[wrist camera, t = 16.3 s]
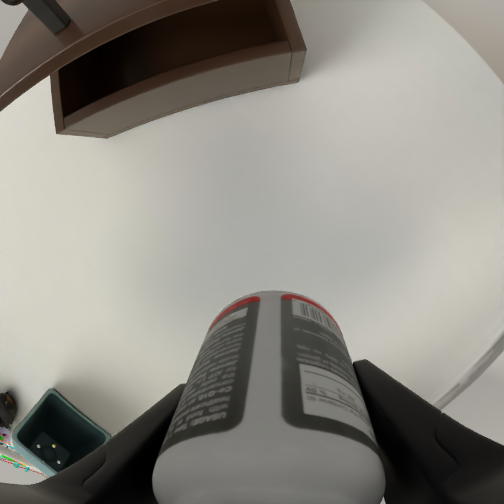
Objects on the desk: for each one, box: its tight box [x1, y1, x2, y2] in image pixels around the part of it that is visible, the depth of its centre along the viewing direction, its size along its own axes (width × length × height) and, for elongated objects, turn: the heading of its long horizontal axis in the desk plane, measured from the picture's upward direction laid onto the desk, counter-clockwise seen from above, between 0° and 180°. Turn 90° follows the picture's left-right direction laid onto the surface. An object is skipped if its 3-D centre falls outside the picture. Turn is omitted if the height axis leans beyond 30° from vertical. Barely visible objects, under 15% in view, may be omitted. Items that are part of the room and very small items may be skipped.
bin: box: [50, 0, 306, 139], centre depth 13 cm, size 11×13×6 cm
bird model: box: [0, 392, 16, 428], centre depth 28 cm, size 3×14×3 cm, turn 148°
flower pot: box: [12, 389, 110, 477], centre depth 23 cm, size 9×9×9 cm
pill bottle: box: [152, 291, 386, 504], centre depth 6 cm, size 5×5×8 cm
